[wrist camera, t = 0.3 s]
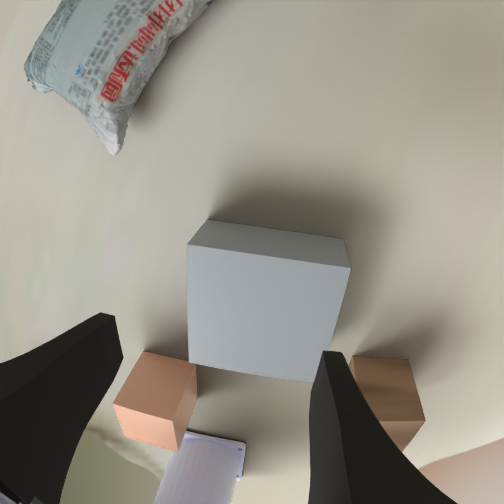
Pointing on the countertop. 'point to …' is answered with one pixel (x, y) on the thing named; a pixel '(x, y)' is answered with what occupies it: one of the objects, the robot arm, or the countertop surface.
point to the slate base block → (263, 298)
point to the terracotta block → (157, 400)
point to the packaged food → (106, 56)
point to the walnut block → (390, 395)
